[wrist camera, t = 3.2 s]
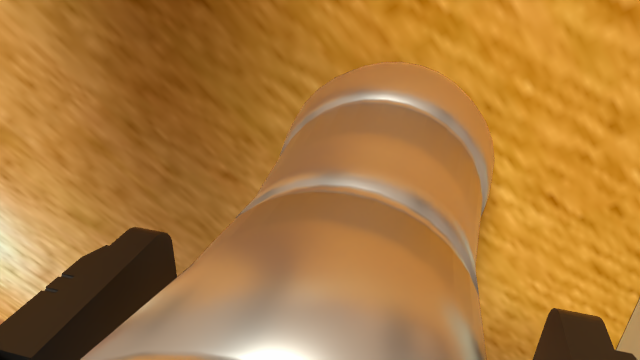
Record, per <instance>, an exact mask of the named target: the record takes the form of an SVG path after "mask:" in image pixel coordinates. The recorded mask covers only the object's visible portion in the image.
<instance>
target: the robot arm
mask: <svg viewBox="0 0 640 360" xmlns="http://www.w3.org/2000/svg"><path fill="white" fill-rule="evenodd" d="M176 278H177V274H176V266H175V259H174V252H173V245H172V240H171V237H170V236H169V235H168V234H167V233H164V232H159V231H153V230H148V229H143V228H138V227H133V228H130V229H129V230H127V231H126V232H125V233H124V234H123V235H122V236H120V237H119V238H118V239H117V240H116V241H115V242H113V243H112V244H111V245H110V246H108V245H106V246H104V247H102V248H100V249H97V250H95V251H93V252H91V253H89V254H87V255H85V256H83V257H81V258H80V259H79V260H78V261H76V262H75V263H74V264H73V265H72V266H70V267H69V268H68V269H67V270H66V271H64V272H63V273H62V276H61V277H57V278H56V279H55V280H54V281H52V282H51V283H50V284H49V285H48V286H46V289H45V291H40V292H39V293H38V294H37V295H36V296H34V297H33V298H32V299H31V300H30V301H28V302H27V303H26V304H25V305H24V306H22V307H21V308H20V309H19V310H18V311H16V312H15V313H14V314H13V315H12V316H10V317H9V318H8V319H7V320H6V321H4V322H3V323H2V324H1V325H0V360H80V359H81V358H82V357H84V356H85V355H86V354H87V353H88V352H90V351H91V350H92V349H93V348H94V347H95V346H97V345H98V344H99V343H100V342H101V341H103V340H104V339H105V338H106V337H107V336H108V335H110V334H111V333H112V332H113V331H114V330H115V329H117V328H118V327H119V326H120V325H121V324H123V323H124V322H125V321H126V320H127V319H128V318H130V317H131V316H132V315H133V314H134V313H136V312H137V311H138V310H139V309H140V308H141V307H143V306H144V305H145V304H146V303H147V302H149V301H150V300H151V299H152V298H153V297H154V296H156V295H157V294H158V293H159V292H160V291H161V290H163V289H164V288H165V287H166V286H167V285H169V284H170V283H171V282H172V281H173V280H174V279H176ZM533 360H637V358H636V357H635V356H634V355H633V354H632V353H627V352H622V351H617V350H614V347H613V345H612V342H611V340H610V337H609V334H608V332H607V329H606V327H605V324H604V322H603V320H602V319H601V318H600V317H598V316H593V315H587V314H582V313H577V312H572V311H567V310H561V309H556V308H553V309H552V310H551V311H550V313H549V315H548V317H547V320H546V323H545V326H544V329H543V331H542V334H541V337H540V340H539V343H538V346H537V349H536V352H535V354H534V357H533Z"/></svg>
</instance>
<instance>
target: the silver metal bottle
mask: <svg viewBox="0 0 640 360" xmlns="http://www.w3.org/2000/svg"><path fill="white" fill-rule="evenodd" d="M493 167H494V150H493V141H492V138H491V135H490V132H489V129H488V127H487V124H486V121H485V120H484V118H483V117H482V115H481V113H480V112H479V110H478V109H477V107H476V106H475V104H474V103H473V102H472V100H471V99H470V98H469V97H468V95H467V94H466V93H465V92H464V91H463V90H462V89H461V88H459V87H458V86H457V85H456V84H455V83H454V82H453V81H451V80H450V79H448V78H447V77H445V76H443V75H442V74H440V73H439V72H436V71H434V70H431V69H429V68H426V67H424V66H421V65H416V64H410V63H404V62H382V63H377V64H372V65H367V66H363V67H360V68H357V69H355V70H352V71H350V72H347V73H345V74H343V75H340V76H338V77H335V78H334V79H332V80H331V81H329V82H328V83H326V84H325V85H323V86H322V87H321V88H319V89H318V90H317V91H316V92H315V93H314V94H313V95H312V96H311V97H310V98H309V99H308V100H307V101H306V102H305V104H304V105H303V107H302V109H301V110H300V112H299V113H298V115H297V117H296V118H295V120H294V122H293V124H292V126H291V128H290V130H289V132H288V134H287V136H286V139H285V142H284V145H283V148H282V150H281V154H280V157H279V159H278V161H277V162H276V164H275V166H274V167H273V169H272V171H271V172H270V174H269V176H268V177H267V179H266V181H265V182H264V184H263V185H262V187H261V189H260V190H259V192H258V194H257V195H256V197H255V198H254V199H253V200H252V201H251V202H250V203H249V204H248V205H247V206H246V207H245V209H244V210H243V211H242V212H241V213H240V214H239V215H238V216H237V217H236V219H235V220H234V221H233V222H232V223H231V224H230V225H229V226H228V227H227V228H226V229H225V230H224V231H223V232H222V233H221V234H220V235H219V236H218V237H217V238H216V239H215V240H214V241H213V242H212V243H211V245H210V246H209V247H208V248H207V249H206V250H205V251H204V252H203V253H202V254H201V255H200V256H199V257H198V258H197V259H196V260H195V262H194V263H193V264H192V265H191V266H190V267H189V268H187V269H186V270H185V271H184V272H183V273H182V274H180V275H179V276H178V277H177V278H176V279H174V280H173V281H172V282H171V283H170V284H169V285H167V286H166V287H165V288H164V289H163V290H161V291H160V292H159V293H158V294H157V295H156V296H154V297H153V298H152V299H151V300H150V301H149V302H147V303H146V304H145V305H144V306H143V307H141V308H140V309H139V310H138V311H137V312H136V313H134V314H133V315H132V316H131V317H130V318H128V319H127V320H126V321H125V322H124V323H123V324H121V325H120V326H119V327H118V328H117V329H115V330H114V331H113V332H112V333H111V334H110V335H108V336H107V337H106V338H105V339H104V340H103V341H101V342H100V343H99V344H98V345H97V346H95V347H94V348H93V349H92V350H91V351H90V352H88V353H87V354H86V355H85V356H84V357H82V358H81V359H80V360H487V358H486V350H485V342H484V334H483V326H482V317H481V310H480V303H479V293H478V286H477V278H476V270H475V267H476V257H477V247H478V237H479V227H480V218H481V215H482V213H483V210H484V208H485V205H486V202H487V200H488V197H489V192H490V186H491V181H492V174H493Z"/></svg>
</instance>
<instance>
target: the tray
mask: <svg viewBox="0 0 640 360" xmlns="http://www.w3.org/2000/svg"><path fill="white" fill-rule="evenodd" d="M616 350H617V351H622V352H627V353H632V354H633V355H634V356H635V357H636V358H637V360H640V299H639V301H638V304H637V306H636V308H635V310H634V312H633V314H632V317H631V319H630V321H629V323H628V325H627V327H626V330H625V332H624V334H623V336H622V338H621V341H620V343H619V345H618V347H617V349H616Z"/></svg>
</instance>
